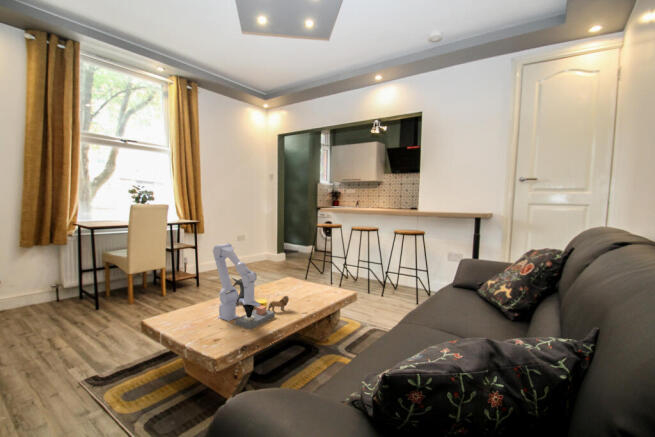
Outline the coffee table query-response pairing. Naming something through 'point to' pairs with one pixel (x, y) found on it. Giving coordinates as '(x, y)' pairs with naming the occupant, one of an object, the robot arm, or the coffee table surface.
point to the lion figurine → (279, 303)
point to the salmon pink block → (261, 310)
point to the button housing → (256, 321)
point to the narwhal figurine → (241, 294)
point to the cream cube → (249, 318)
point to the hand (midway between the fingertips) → (249, 316)
